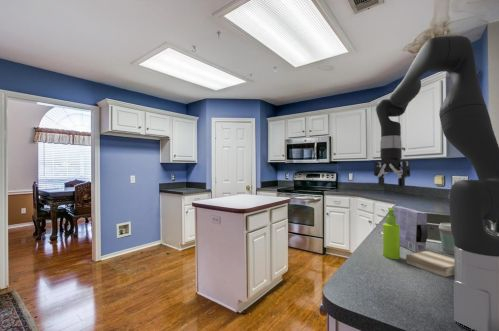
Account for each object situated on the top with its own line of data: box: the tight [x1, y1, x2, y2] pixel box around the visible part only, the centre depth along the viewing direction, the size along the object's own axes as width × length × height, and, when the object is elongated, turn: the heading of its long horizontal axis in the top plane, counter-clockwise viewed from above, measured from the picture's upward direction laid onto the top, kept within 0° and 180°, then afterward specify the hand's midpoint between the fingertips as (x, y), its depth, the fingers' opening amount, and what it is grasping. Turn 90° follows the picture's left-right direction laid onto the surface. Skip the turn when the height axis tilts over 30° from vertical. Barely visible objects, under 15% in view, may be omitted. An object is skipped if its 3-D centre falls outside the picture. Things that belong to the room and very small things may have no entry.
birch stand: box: [405, 250, 454, 278], centre depth 88 cm, size 13×13×3 cm
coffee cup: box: [438, 222, 454, 256], centre depth 103 cm, size 8×9×12 cm
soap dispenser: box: [382, 207, 401, 260], centre depth 98 cm, size 6×7×20 cm
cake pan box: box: [391, 205, 429, 254], centre depth 111 cm, size 19×5×18 cm, turn 0°
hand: (391, 187), depth 98 cm, fingers open, 8 cm apart
